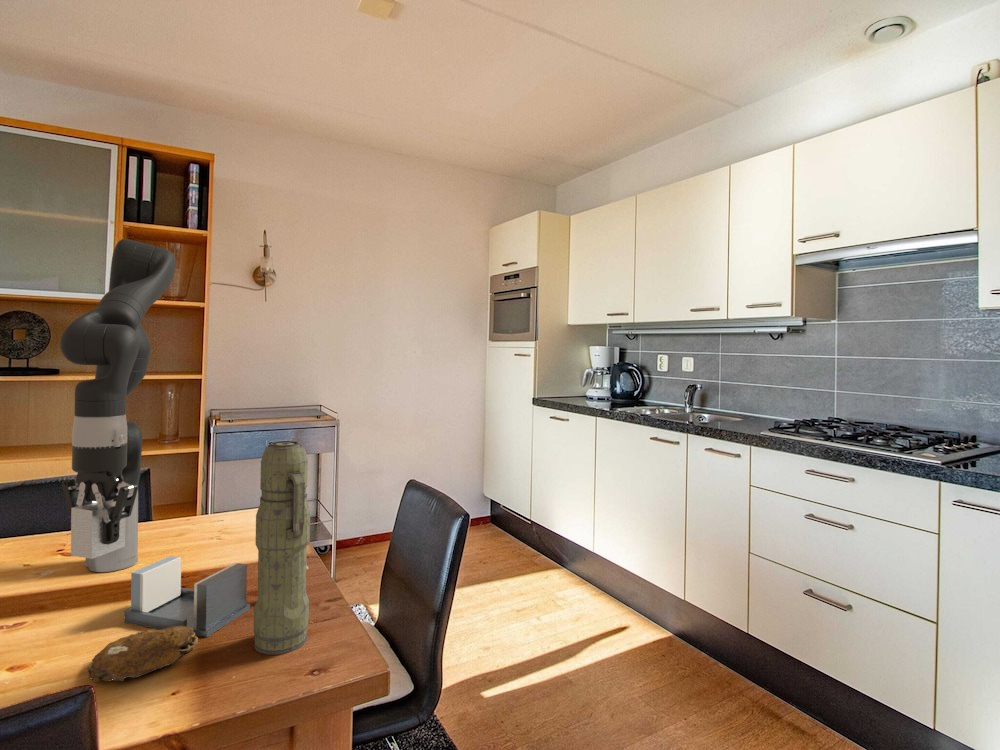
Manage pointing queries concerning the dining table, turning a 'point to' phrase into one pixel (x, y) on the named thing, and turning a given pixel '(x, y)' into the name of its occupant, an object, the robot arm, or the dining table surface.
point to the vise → (201, 604)
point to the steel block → (92, 532)
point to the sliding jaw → (156, 584)
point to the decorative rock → (141, 653)
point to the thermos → (282, 550)
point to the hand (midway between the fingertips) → (99, 540)
